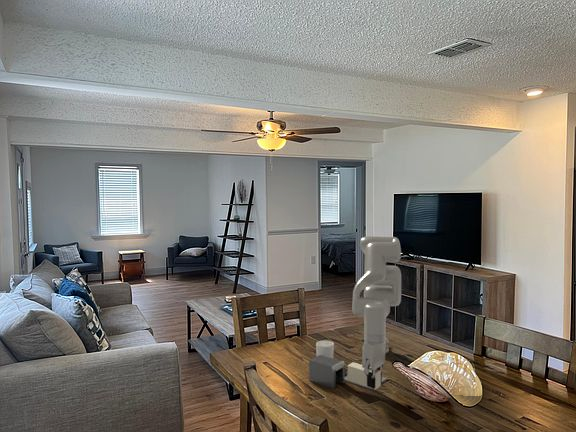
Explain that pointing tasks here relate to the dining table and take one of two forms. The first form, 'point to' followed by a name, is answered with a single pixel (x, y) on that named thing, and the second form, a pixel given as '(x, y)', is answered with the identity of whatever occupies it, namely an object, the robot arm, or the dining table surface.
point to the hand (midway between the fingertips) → (374, 384)
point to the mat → (361, 385)
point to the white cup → (325, 348)
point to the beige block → (362, 375)
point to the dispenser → (326, 371)
